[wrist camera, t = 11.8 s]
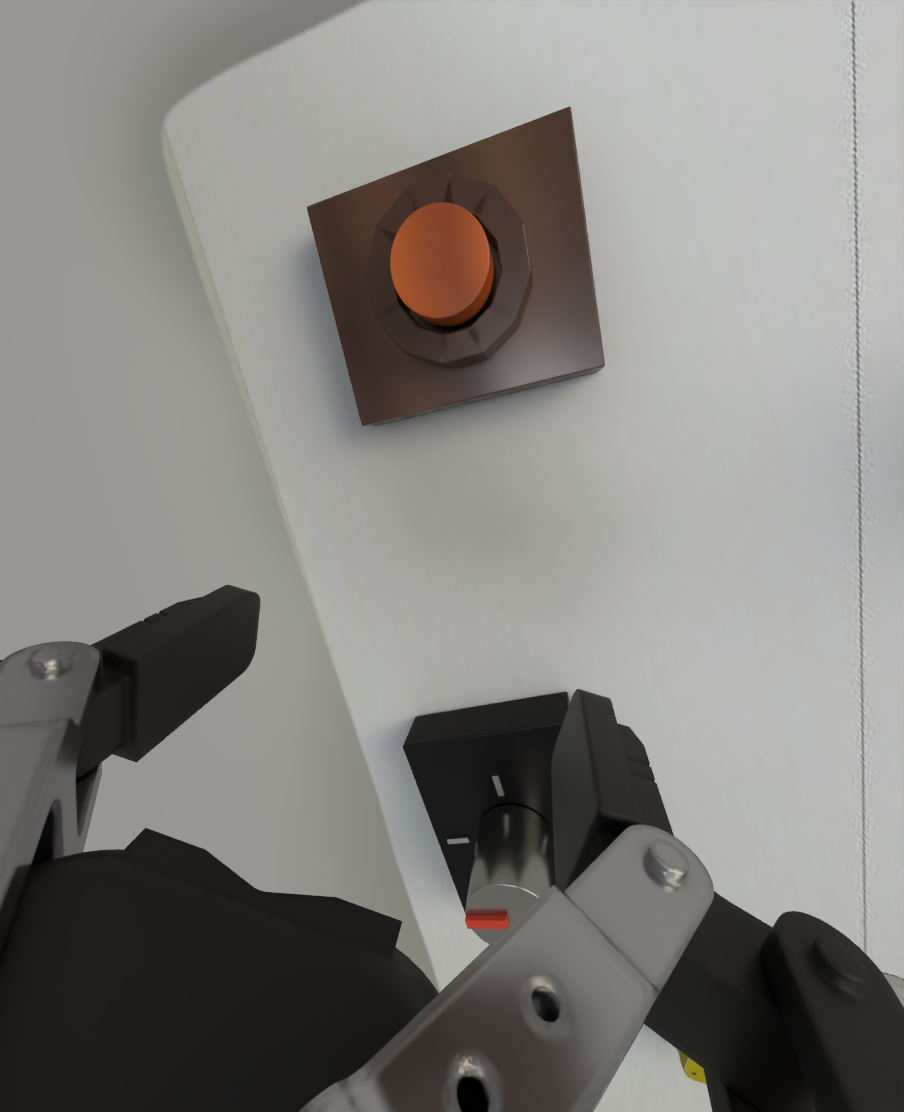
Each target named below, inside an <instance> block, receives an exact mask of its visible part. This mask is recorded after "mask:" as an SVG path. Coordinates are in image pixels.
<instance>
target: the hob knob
mask: <svg viewBox="0 0 904 1112" xmlns="http://www.w3.org/2000/svg"><path fill="white" fill-rule="evenodd" d="M552 886H553V847H552V834H551V830H550V828H549V826H548V825H547V823H546V822H545V821H544V819H543V818H542V817H541V816H539V815H538V814H537V813H535V812H534V811H532V810H530V809H528V808H525V807H522V806H517V805H502V806H498V807H495V808H493V809H491V810H489V811H488V812H487V813H486V814H485V815H484V816H483V817H482V819H481V820H480V823H479V827H478V833H477V839H476V846H475V852H474V858H473V864H472V870H471V877H470V883H469V889H468V895H467V902H466V908H465V910H466V919H465V921H466V925H467V928H468V929H472V930H473V931H474V932H475V933H476V934H477V935H478V936H479V937H480V938H481V939H482V940H484V941H485V942H487V943H488V944H491V943H492V942H493V941H494V940H495V939H496V938H497V937H498V936H499V935H500V934H501V933H502V932H503V931H505V930H506V929H507V928H508V927H509V926H510V925H511V924H512V923H513V922H514V921H515V920H516V919H517V918H518V917H519V916H520V915H521V914H522V913H523V912H524V911H525V910H526V909H527V908H528V907H529V906H531V905H532V904H533V903H534V902H535V901H536V900H537V899H538V898H539V897H540V896H541V895H542V894H543V893H544V892H545V891H546V890H547V889H549V888H550V887H552Z"/></svg>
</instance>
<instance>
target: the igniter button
mask: <svg viewBox="0 0 904 1112" xmlns="http://www.w3.org/2000/svg"><path fill="white" fill-rule="evenodd" d="M390 271H391V277H392V281H393V284H394V287H395V289H396V291H397V293H398V295H399V297H400V298H401V299H402V301H403V302H404V303H405V304H406V305H407V306H408V307H409V308H410V309H411V310H412V311H413V312H414V313H416V314H417V315H418V316H419V317H420V318H422V319H423V320H424V321H426V322H428V323H430V324H433V325H436V326H442V327H450V326H456V325H459V324H462V323H464V322H466V321H468V320H469V319H471V318H472V317H473V316H475V315H476V314H477V313H478V312H479V311H480V309H481V308H482V307H483V305H484V304H485V302H486V301H487V299H488V297H489V294H490V292H491V289H492V285H493V279H494V263H493V257H492V253H491V250H490V247H489V243H488V240H487V237H486V234H485V232H484V230H483V228H482V226H481V224H480V223H479V222H478V220H477V219H476V218H475V217H474V216H473V215H472V214H471V213H470V212H469V211H467V210H466V209H464V208H463V207H461V206H458V205H456V204H452V203H445V202H439V203H432V204H429V205H426V206H424V207H421V208H420V209H418V210H417V211H415V212H414V213H413V214H411V215H410V216H409V217H408V218H407V219H406V220H405V221H404V223H403V224H402V226H401V227H400V229H399V231H398V232H397V234H396V237H395V239H394V242H393V245H392V249H391V255H390Z"/></svg>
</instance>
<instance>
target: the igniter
mask: <svg viewBox="0 0 904 1112" xmlns="http://www.w3.org/2000/svg"><path fill="white" fill-rule="evenodd" d="M439 202H445V203H452V204H456V205H458V206H461V207H463V208H464V209H466V210H467V211H469V212H470V213H471V214H472V215H473V216H474V217H475V218H476V219H477V220H478V222H479V223H480V224H481V226H482V228H483V230H484V232H485V234H486V237H487V240H488V243H489V247H490V250H491V253H492V257H493V263H494V279H493V285H492V289H491V292H490V294H489V297H488V299H487V301H486V302H485V304H484V305H483V307H482V308H481V309H480V311H479V312H478V313H477V314H476V315H475V316H473V317H472V318H471V319H469V320H468V321H466V322H464V323H462V324H459V325H456V326H450V327H442V326H436V325H433V324H430V323H428V322H426V321H424V320H423V319H422V318H420V317H419V316H418V315H417V314H416V313H414V312H413V311H412V310H411V309H410V308H409V307H408V306H407V305H406V304H405V303H404V302H403V301H402V299H401V298H400V297H399V295H398V293H397V291H396V289H395V287H394V284H393V281H392V277H391V271H390V255H391V249H392V245H393V242H394V239H395V237H396V234H397V232H398V231H399V229H400V227H401V226H402V224H403V223H404V221H405V220H406V219H407V218H408V217H409V216H410V215H411V214H413V213H414V212H415V211H417V210H418V209H420V208H421V207H424V206H426V205H429V204H432V203H439ZM307 211H308V215H309V219H310V222H311V226H312V230H313V234H314V238H315V242H316V246H317V250H318V254H319V258H320V262H321V266H322V270H323V274H324V278H325V282H326V285H327V289H328V293H329V297H330V301H331V305H332V309H333V313H334V317H335V321H336V325H337V329H338V333H339V337H340V341H341V345H342V348H343V352H344V356H345V360H346V364H347V368H348V372H349V376H350V380H351V384H352V388H353V392H354V396H355V400H356V404H357V408H358V411H359V415H360V419H361V423H362V426H378V425H382V424H386V423H390V422H394V421H398V420H402V419H407V418H411V417H415V416H419V415H423V414H427V413H431V412H435V411H439V410H443V409H447V408H451V407H456V406H460V405H464V404H468V403H472V402H476V401H480V400H484V399H488V398H492V397H496V396H500V395H505V394H509V393H513V392H517V391H521V390H525V389H529V388H533V387H537V386H541V385H545V384H550V383H554V382H558V381H562V380H566V379H570V378H574V377H578V376H582V375H586V374H590V373H594V372H598V371H599V370H601V369H602V368H603V367H604V365H605V363H604V355H603V348H602V340H601V332H600V325H599V317H598V310H597V302H596V294H595V287H594V279H593V272H592V264H591V256H590V249H589V241H588V234H587V226H586V218H585V211H584V203H583V196H582V188H581V180H580V173H579V165H578V158H577V150H576V142H575V135H574V127H573V120H572V112H571V108H570V107H567V108H565V109H562V110H559V111H557V112H554V113H551V114H549V115H546V116H544V117H541V118H538V119H536V120H533V121H531V122H528V123H525V124H523V125H520V126H517V127H515V128H512V129H510V130H507V131H504V132H502V133H499V134H496V135H494V136H491V137H489V138H486V139H483V140H481V141H478V142H475V143H473V144H470V145H468V146H465V147H462V148H460V149H457V150H454V151H452V152H449V153H447V154H444V155H441V156H439V157H436V158H433V159H431V160H428V161H426V162H423V163H420V164H418V165H415V166H412V167H410V168H407V169H405V170H402V171H399V172H397V173H394V174H391V175H389V176H386V177H384V178H381V179H378V180H376V181H373V182H371V183H368V184H365V185H363V186H360V187H357V188H355V189H352V190H350V191H347V192H344V193H342V194H339V195H336V196H334V197H331V198H329V199H326V200H323V201H321V202H318V203H315V204H313V205H310V206H308V207H307Z"/></svg>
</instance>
